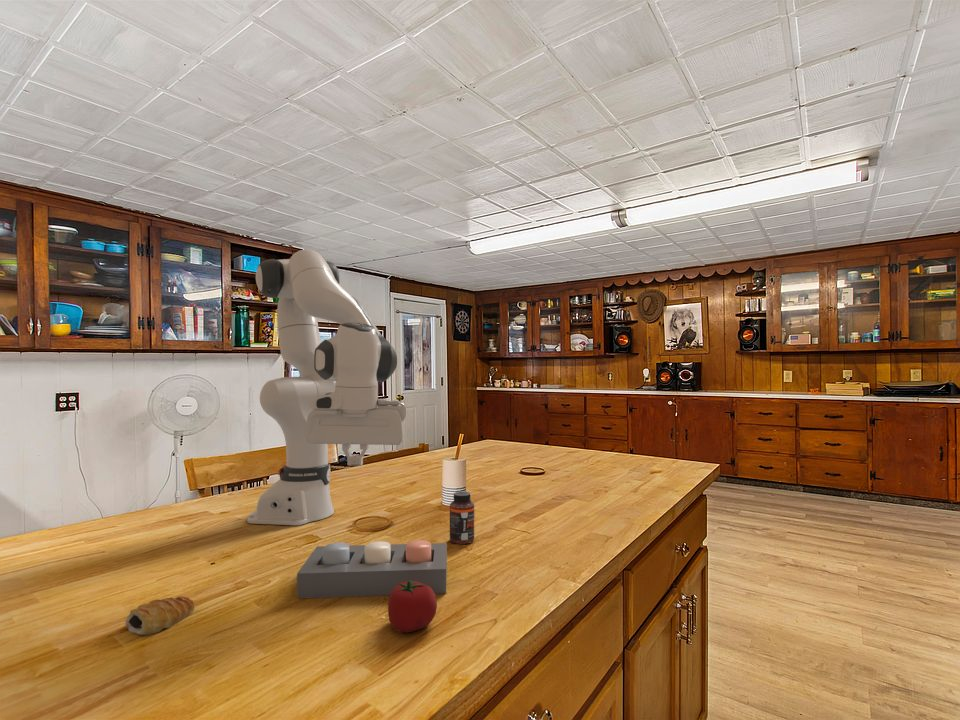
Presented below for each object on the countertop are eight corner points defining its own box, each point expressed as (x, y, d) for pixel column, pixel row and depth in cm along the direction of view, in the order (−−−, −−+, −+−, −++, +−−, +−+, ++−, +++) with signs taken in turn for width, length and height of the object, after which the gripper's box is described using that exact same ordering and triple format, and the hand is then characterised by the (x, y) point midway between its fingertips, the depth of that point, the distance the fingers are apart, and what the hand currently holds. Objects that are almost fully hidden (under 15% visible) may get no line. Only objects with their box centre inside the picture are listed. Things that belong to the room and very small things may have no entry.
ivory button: (362, 582, 93) (362, 551, 93) (367, 571, 98) (366, 541, 98) (388, 581, 93) (388, 550, 93) (392, 570, 98) (391, 541, 98)
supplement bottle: (471, 546, 113) (471, 497, 113) (446, 544, 114) (446, 496, 114) (476, 537, 119) (476, 490, 119) (453, 535, 120) (452, 489, 120)
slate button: (319, 584, 92) (319, 552, 92) (326, 572, 97) (326, 542, 97) (346, 583, 93) (346, 551, 93) (351, 572, 98) (351, 542, 98)
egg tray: (297, 598, 88) (297, 573, 88) (316, 568, 101) (316, 546, 101) (446, 593, 90) (446, 568, 90) (446, 564, 103) (446, 542, 103)
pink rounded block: (404, 581, 93) (404, 550, 93) (407, 570, 98) (406, 540, 98) (430, 580, 94) (430, 549, 94) (431, 569, 98) (431, 539, 99)
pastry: (179, 604, 87) (179, 583, 87) (203, 613, 84) (203, 591, 84) (121, 630, 78) (121, 607, 78) (145, 641, 75) (145, 617, 75)
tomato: (393, 644, 74) (392, 596, 74) (381, 619, 81) (381, 575, 81) (442, 632, 77) (442, 586, 77) (427, 609, 84) (427, 567, 84)
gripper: (407, 399, 106) (406, 462, 106) (312, 397, 105) (311, 460, 105) (404, 402, 100) (403, 469, 100) (303, 400, 99) (302, 468, 99)
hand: (355, 465), depth 103 cm, fingers closed
